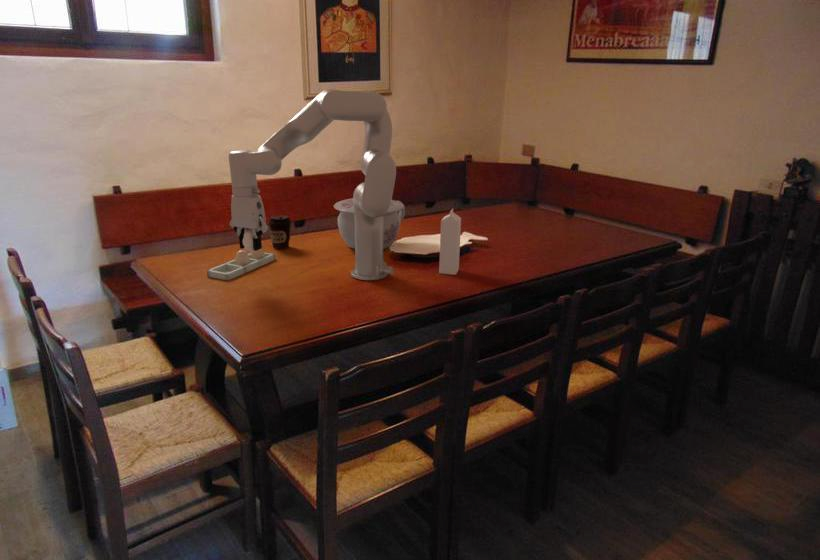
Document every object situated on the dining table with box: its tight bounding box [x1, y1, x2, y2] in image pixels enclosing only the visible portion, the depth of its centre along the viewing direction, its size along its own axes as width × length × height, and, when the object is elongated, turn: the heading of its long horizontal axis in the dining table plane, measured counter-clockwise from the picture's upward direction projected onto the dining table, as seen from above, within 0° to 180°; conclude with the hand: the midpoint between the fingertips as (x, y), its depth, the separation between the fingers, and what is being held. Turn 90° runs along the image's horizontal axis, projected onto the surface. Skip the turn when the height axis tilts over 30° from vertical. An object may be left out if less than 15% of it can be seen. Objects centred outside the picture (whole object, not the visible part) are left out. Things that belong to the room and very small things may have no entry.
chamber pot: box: [333, 197, 406, 250], centre depth 230 cm, size 28×28×21 cm
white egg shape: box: [242, 229, 255, 252], centre depth 185 cm, size 5×5×6 cm
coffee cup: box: [268, 214, 292, 251], centre depth 225 cm, size 9×8×13 cm
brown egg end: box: [249, 247, 265, 260], centre depth 209 cm, size 5×5×6 cm
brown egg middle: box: [235, 249, 250, 266], centre depth 202 cm, size 5×5×6 cm
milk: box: [438, 208, 462, 276], centre depth 202 cm, size 6×6×22 cm
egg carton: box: [206, 251, 276, 281], centre depth 205 cm, size 25×17×3 cm
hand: (250, 247), depth 186 cm, fingers closed on white egg shape, 4 cm apart
